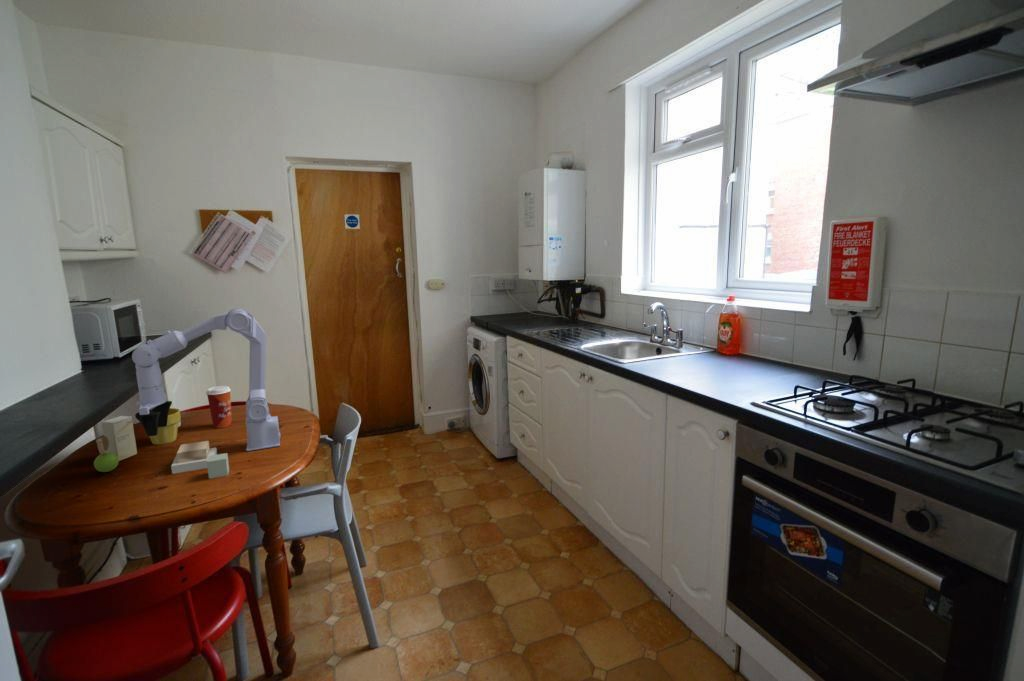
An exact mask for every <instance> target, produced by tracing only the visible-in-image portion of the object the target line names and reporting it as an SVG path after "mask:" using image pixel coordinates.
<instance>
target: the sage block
mask: <svg viewBox="0 0 1024 681" xmlns="http://www.w3.org/2000/svg"><path fill="white" fill-rule="evenodd" d="M207 467H208V468H207V474H208V479H209V480H210V479H215V478H221V477H222V478H223V477H227V476H229V472H230V464H229V456H228V453H227V452H226V453H217V455H211V456H209V457H208V460H207Z"/></svg>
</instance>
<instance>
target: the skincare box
mask: <svg viewBox="0 0 1024 681" xmlns="http://www.w3.org/2000/svg"><path fill="white" fill-rule="evenodd" d="M100 423H101V429H102V434H103V435H102V436H106V437H107V438H108V441H109V447H108V453H113V454H115V455H116V456H117V457H118V459H119V462H120V461H122V460H126V459H128V458H130V457H132V456H135V455H137V454H138V450H137V442H136V436H135V431H134V423H133V417H132V416H128V415H119V416H116V417H113V418H112V417H111V418H109V419H107V420H104V421H101V422H100Z"/></svg>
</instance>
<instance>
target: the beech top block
mask: <svg viewBox="0 0 1024 681" xmlns="http://www.w3.org/2000/svg"><path fill="white" fill-rule="evenodd" d="M210 448H211V447H210V441H209V440H204V441H202V440H201V441H196V442H190V443H183V444H180V446H179V448H178V450H177V452H176V455H177V457H178V463H182V462H188V461H195V460H201V459H207V457H208V454H209V451H210Z"/></svg>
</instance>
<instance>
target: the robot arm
mask: <svg viewBox="0 0 1024 681" xmlns="http://www.w3.org/2000/svg"><path fill="white" fill-rule="evenodd" d="M227 328H228V329H229V330H231V331H232V332H235V333H238V334H241V335H242V336H243V337H244V338H246V339H247V340H248V341H249V373H248V374H249V375H248V376H249V377H248V378H249V380H248V381H249V382H248V387H249V390H248V398H247V399H246V401H245V410H246V411H245V414H246V417H245V427H246V438H247V442H246V449H245V451H246V452H251V451H257V450H262V449H271V448H275V447H279V446H281V438H282V437H281V436H282V435H281V432H280V425H279V417H278V415H275V416H271V415H272V414H271V413H270V408H269V406H268V401H267V398H266V373H267V372H266V370H267V369H266V368H267V367H266V365H267V364H266V363H267V362H266V361H267V360H266V358H267V356H266V355H267V353H266V352H267V348H266V347H267V335H266V332H265V330H264V329H263V328H262V327H261V325H260V324H259V323H258V321H257V320H256V318H255V317H254V315H252V314H251V313H250V312H248V311H247V310H245V309H244V308H240V307H235V308H233V309H230V310H229V311H224V312H222V313H218V314H216V315H213V316H211V317H209V318H207V319H205V320H204V321H201V322H199V323H197V324H195V325H193V326H192V327H189V328H187V329H185V330H183V331H178V330H172V331H170V330H167V331H165V332H164V334H163V335H160V336H159V337H157V338H155V339H153V340H152V339H148V340H147V341H146V343H143V344H141V345H139V346H138V347H137V348H136V349H135V350H133V351H132V354H131V358H132V359H131V360H132V362H133V363H134V364H135V367H134V368H135V370H136V371H135V374H136V382H137V388H138V394H139V401H137V402H135V405H136V406H139V408H138V412H137V413H135V414H134V416H135V419H137V420H138V421H139V423H140V424H141V425H142V427H143V429H144V431H145V433H146V435H147V437H150V436H156V435H157V433H158V427H166V426H167V420H168V413H169V409H170V408H171V406H172V404H173V402H172V401H171V400H167V398H168V397H167V393H165V390H164V389H165V388H164V383H163V377H162V376H163V375H162V370H161V367H160V362H159V359H164V358H167V357H169V356H171V355H173V354H176V353H178V352H179V351H181V350H183V349H186V348H187V347H188V346H187V345H188V343H189V342H190V341H192V340H195V339H197V338H199V337H201V336H203V335H206V334H208V333H211V332H212V331H214V330H221V331H222V330H223V331H227Z"/></svg>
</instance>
